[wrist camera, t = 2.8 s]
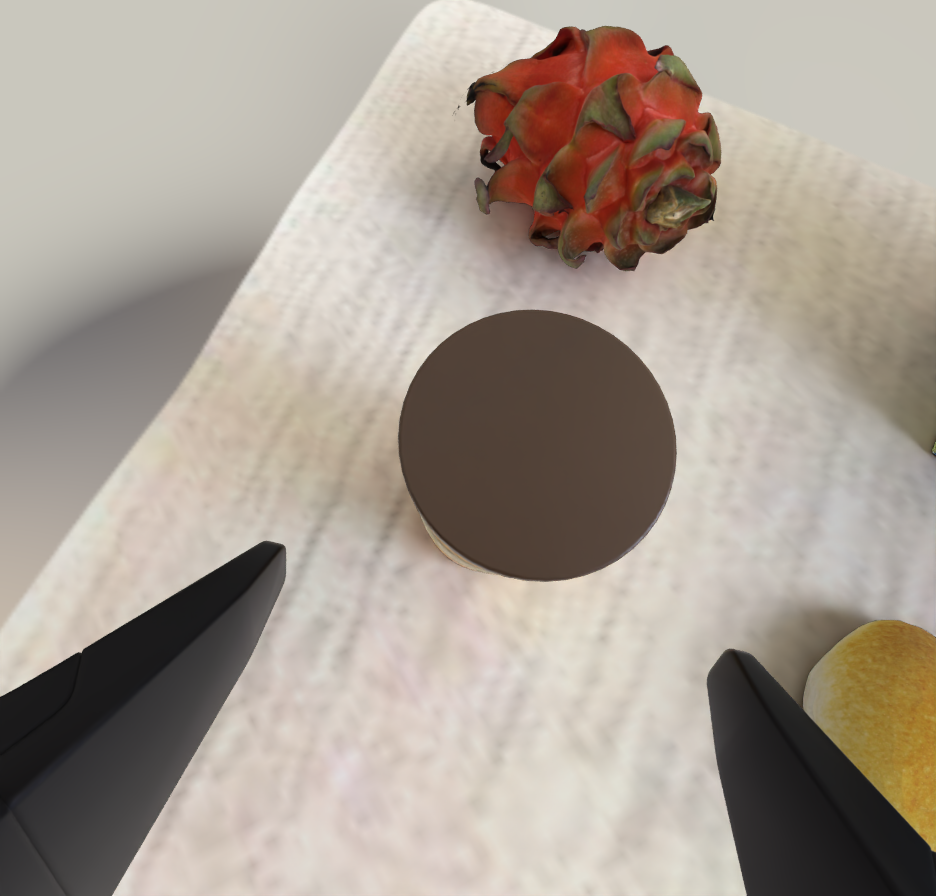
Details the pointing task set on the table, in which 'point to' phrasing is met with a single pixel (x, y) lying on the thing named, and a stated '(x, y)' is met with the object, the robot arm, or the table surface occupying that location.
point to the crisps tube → (536, 446)
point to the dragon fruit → (599, 145)
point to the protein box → (934, 449)
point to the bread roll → (883, 713)
